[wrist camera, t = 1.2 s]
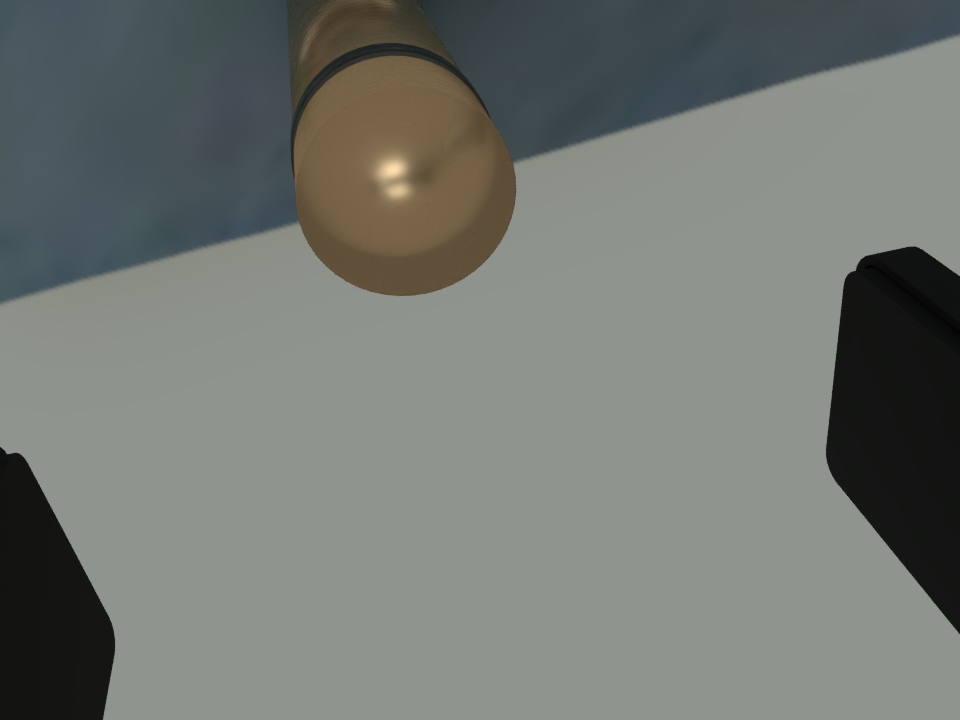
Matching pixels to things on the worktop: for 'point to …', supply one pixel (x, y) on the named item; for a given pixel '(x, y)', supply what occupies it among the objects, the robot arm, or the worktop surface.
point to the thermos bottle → (391, 149)
